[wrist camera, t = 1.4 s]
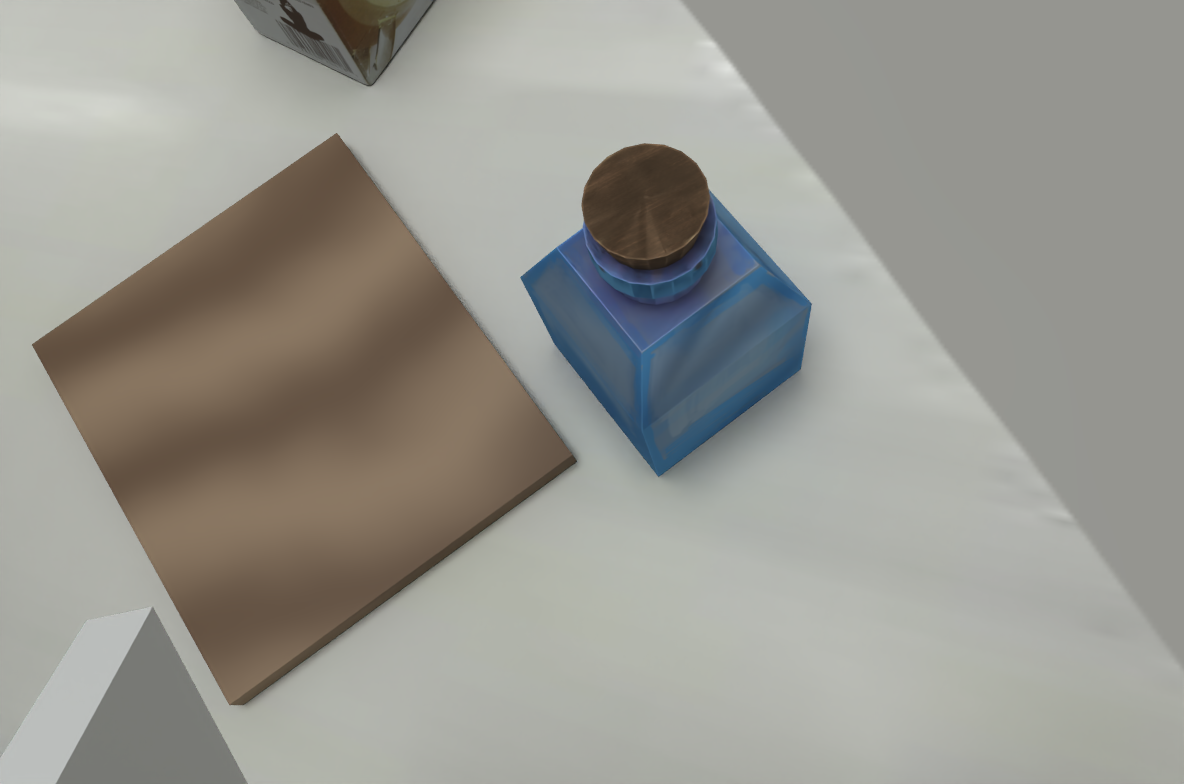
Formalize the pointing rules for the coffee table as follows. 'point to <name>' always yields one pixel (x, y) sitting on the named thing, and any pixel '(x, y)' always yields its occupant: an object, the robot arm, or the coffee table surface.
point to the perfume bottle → (668, 304)
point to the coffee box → (339, 30)
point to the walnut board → (296, 416)
